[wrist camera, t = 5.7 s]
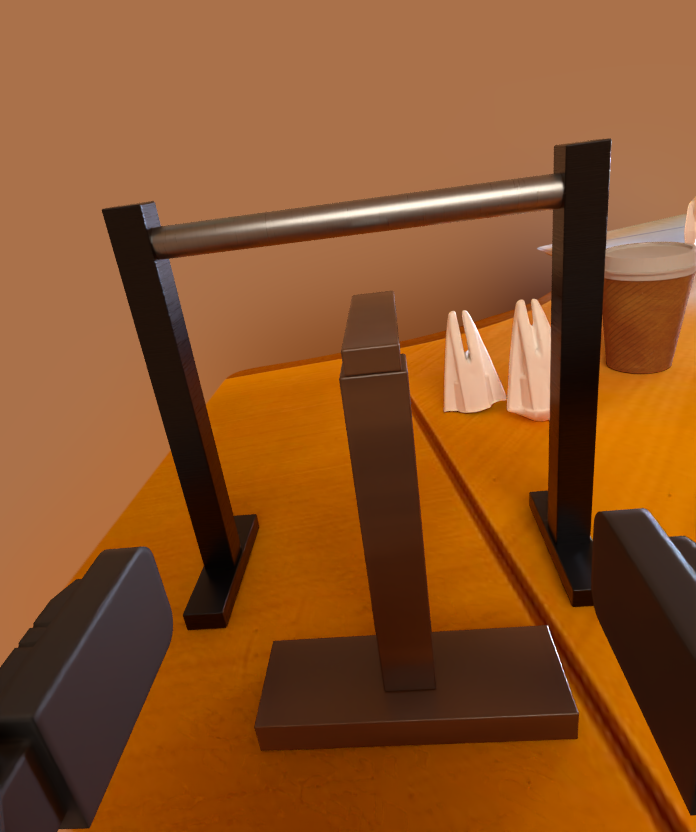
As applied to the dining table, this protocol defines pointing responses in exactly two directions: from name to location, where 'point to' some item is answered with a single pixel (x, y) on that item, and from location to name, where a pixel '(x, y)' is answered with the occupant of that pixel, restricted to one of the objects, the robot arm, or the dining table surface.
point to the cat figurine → (691, 223)
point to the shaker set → (476, 376)
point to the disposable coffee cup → (645, 303)
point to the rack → (561, 192)
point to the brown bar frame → (404, 605)
